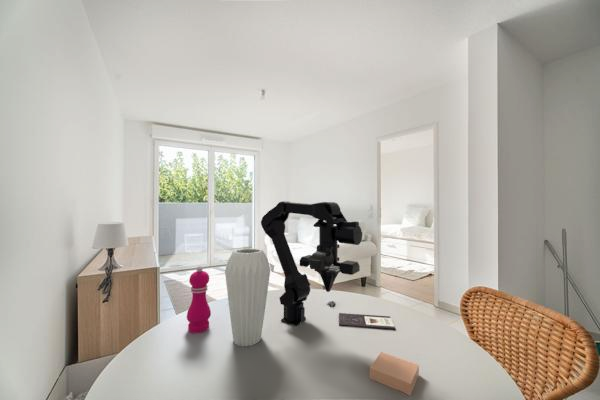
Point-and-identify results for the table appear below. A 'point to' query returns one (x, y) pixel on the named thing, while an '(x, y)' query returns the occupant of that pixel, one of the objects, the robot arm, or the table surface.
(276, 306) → the table surface
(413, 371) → the block
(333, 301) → the blueberries
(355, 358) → the table surface
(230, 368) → the table surface
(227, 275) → the vase
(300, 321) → the robot arm
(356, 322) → the chocolate bar
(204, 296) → the pepper mill
